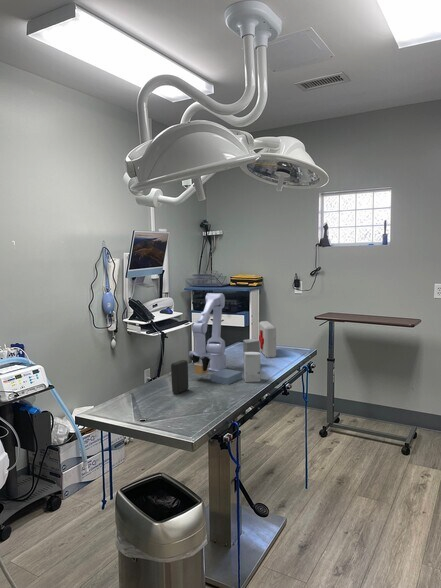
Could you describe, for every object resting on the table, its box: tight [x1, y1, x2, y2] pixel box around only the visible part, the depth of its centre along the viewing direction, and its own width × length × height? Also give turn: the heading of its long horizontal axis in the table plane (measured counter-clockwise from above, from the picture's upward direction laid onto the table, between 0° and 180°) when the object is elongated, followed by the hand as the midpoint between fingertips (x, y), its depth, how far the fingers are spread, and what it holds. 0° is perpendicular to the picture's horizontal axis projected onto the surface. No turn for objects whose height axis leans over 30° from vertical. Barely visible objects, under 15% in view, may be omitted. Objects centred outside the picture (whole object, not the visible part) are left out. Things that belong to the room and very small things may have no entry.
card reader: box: [170, 359, 189, 395], centre depth 214 cm, size 9×4×15 cm, turn 145°
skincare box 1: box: [242, 338, 261, 354], centre depth 255 cm, size 8×7×16 cm
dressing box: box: [210, 368, 243, 386], centre depth 231 cm, size 13×11×4 cm
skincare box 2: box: [243, 352, 262, 383], centre depth 228 cm, size 8×6×15 cm
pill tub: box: [193, 360, 209, 375], centre depth 232 cm, size 5×5×6 cm
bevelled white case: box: [258, 320, 277, 359], centre depth 282 cm, size 21×8×20 cm, turn 6°
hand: (201, 369), depth 232 cm, fingers closed on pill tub, 5 cm apart
